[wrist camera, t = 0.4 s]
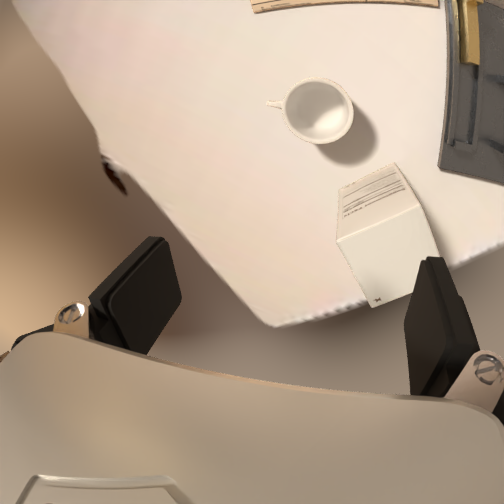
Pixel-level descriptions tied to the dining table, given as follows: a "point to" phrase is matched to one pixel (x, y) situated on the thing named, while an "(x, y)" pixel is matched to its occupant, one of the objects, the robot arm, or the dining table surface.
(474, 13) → the wooden block
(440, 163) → the cradle
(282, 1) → the newspaper
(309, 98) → the teacup
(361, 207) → the supplement box
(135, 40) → the dining table surface
